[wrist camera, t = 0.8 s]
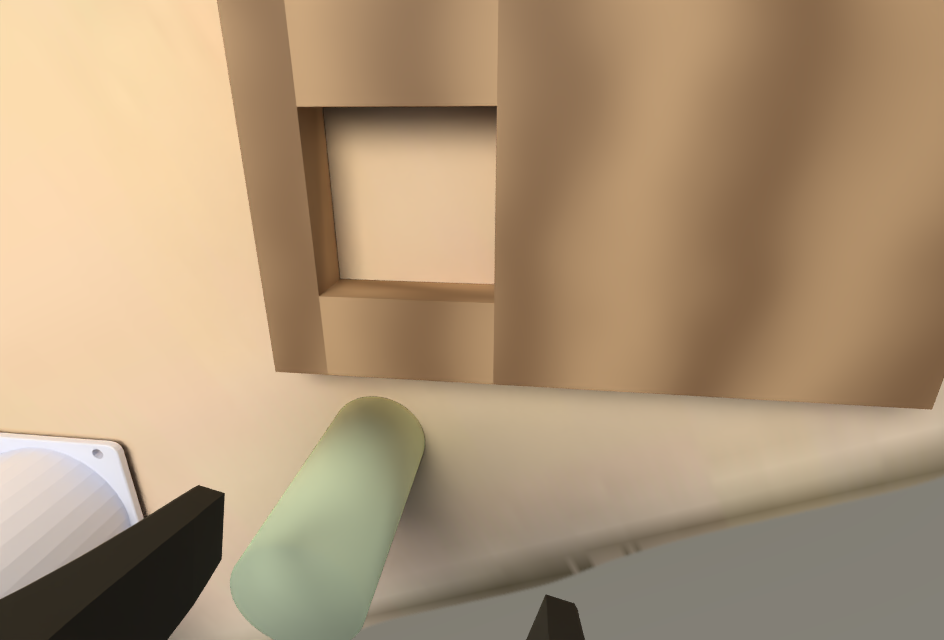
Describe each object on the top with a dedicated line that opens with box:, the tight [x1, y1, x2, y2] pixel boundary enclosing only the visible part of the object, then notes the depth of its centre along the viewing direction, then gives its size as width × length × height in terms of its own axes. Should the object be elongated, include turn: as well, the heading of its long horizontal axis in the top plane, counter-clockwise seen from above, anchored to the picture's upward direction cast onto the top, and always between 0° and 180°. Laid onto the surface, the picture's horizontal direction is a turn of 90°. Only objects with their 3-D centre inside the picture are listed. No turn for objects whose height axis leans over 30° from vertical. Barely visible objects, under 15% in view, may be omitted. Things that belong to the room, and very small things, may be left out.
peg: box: [230, 397, 425, 640], centre depth 19 cm, size 4×4×8 cm
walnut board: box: [217, 0, 944, 409], centre depth 17 cm, size 22×12×2 cm, turn 90°
